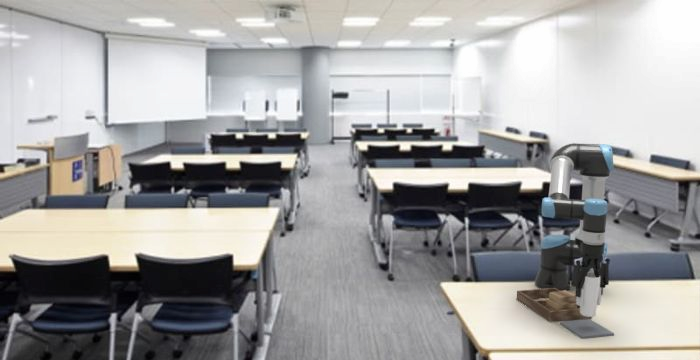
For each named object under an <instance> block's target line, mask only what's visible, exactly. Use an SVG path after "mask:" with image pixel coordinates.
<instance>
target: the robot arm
mask: <svg viewBox="0 0 700 360" xmlns="http://www.w3.org/2000/svg"><path fill="white" fill-rule="evenodd" d="M549 168H550V171H551V174H550V182H549V189H548V190H549V191H548V197H544V198H542V200H541V201H542V202H541V216H542V217H544V218H551V219H562V220H563V219H564V220H565V219H566V220H574V221H575V220H576V221H579V232H578V233H577V234H576V235H575V236H574V239H571V237H570V236H569V235H567V234H566V235H565V234H550V235H546V236H544V237H543V238H542V239H541V244H540V249H541V250H540V261H539V270H538V272H537V275H536V276H535V279H534V285H536V286H537V288H538V287H539V288H538V289H540V288H541V289H546V288H556V289H558V290H560V291H564V290H566V291H568V292H569V291H570V290H571V289H570V288H571V287H573V288H575V293H574V294H575V295H576V296H577V299H576V304H577V305H579V306H581V307H583V297H584V289H583V288H582V287H583V284H584V281H585V276H587V274H588V272H590V271H591V269H592V270H593V273H594V274H595V277H599V275H600V290H599V295H598V301H597V306H601V302H602V300H601V299H602V298H601V297H602V296H603V295H604V294H603V292H604V288H606V286H608V285H609V267H610V266H609V264H610V262H611V259H610V258H608V257H607V253H608V252H607V251H608V242H605V241H606V239H605V238H606V226H607V225H606V224H607V216H608V201H606V200H604V197H605V185H606V180H607V179H608V178H610V173H614V171H615V170H614V169H615V168H614V155H613V148H612V146H611V145H609V144H602V143H577V142H576V143H575V142H574V143H573V142H572V143H568V144H565V145H563V146H561V147H560V148H559V149H557V150H556V151H555V152H554V153H553V154H552V156H551V158H550V161H549ZM573 171H576V172H577V171H579V176H580V177H581V178H582V190H581V199H570V190H571V189H570V188H571V176H572V175H571V174H572V172H573ZM568 267H572V275H571V280H570V276H569V272H568V270H569V268H568ZM536 286H535V287H536Z"/></svg>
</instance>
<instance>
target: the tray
mask: <svg viewBox="0 0 700 360" xmlns="http://www.w3.org/2000/svg"><path fill="white" fill-rule="evenodd" d="M557 291H560V290H558V289H556V288H546V289H540V288H536V289H534V288H533V289H521V290H520V289H519V290H516V301H517V300H518V301H517V302H519V301H520V302H521V303H520V302H519V303H520V304H522V303H523V304H524V305H523V304H522V305H523V306H525V305H526V306H527V308H528V309H529V308H530V310H531V311H533V312H534V313H536V314H537V315H539V316H540V317H542V318H543V319H545V320H546V321H548V322H549V323H555V322H567V321H577V320H588V319H592V318H593V317H586V316H583V315H581V314H580V306H579V305H577V309H566V310H555V311H551V310H549V309H548V308H546V307H545V306H546V299H549V293H550V292H557ZM539 298H545V299H539ZM526 306H525V307H526Z"/></svg>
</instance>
